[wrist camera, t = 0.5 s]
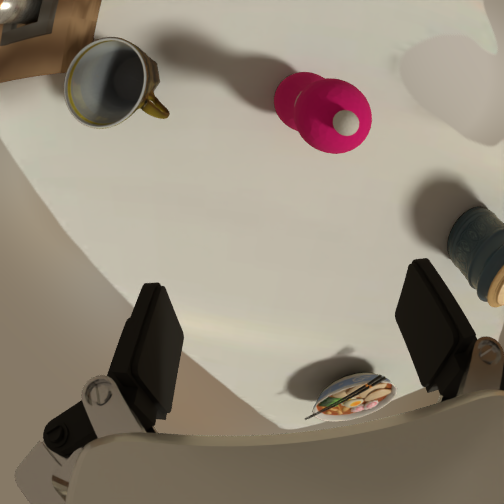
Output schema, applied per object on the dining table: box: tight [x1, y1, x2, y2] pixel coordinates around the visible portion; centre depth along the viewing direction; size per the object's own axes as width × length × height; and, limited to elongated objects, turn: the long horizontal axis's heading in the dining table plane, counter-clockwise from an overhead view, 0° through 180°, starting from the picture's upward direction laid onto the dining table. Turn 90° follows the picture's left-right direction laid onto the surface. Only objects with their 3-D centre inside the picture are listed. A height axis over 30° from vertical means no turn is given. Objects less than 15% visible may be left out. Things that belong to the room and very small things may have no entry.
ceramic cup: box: [64, 37, 170, 129], centre depth 27 cm, size 13×10×10 cm
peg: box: [0, 0, 42, 24], centre depth 14 cm, size 4×4×8 cm
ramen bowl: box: [305, 373, 397, 422], centre depth 67 cm, size 25×23×8 cm
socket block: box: [0, 0, 102, 83], centre depth 19 cm, size 20×14×8 cm
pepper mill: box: [274, 72, 372, 154], centre depth 25 cm, size 7×7×20 cm
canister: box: [447, 207, 504, 307], centre depth 37 cm, size 13×13×18 cm
